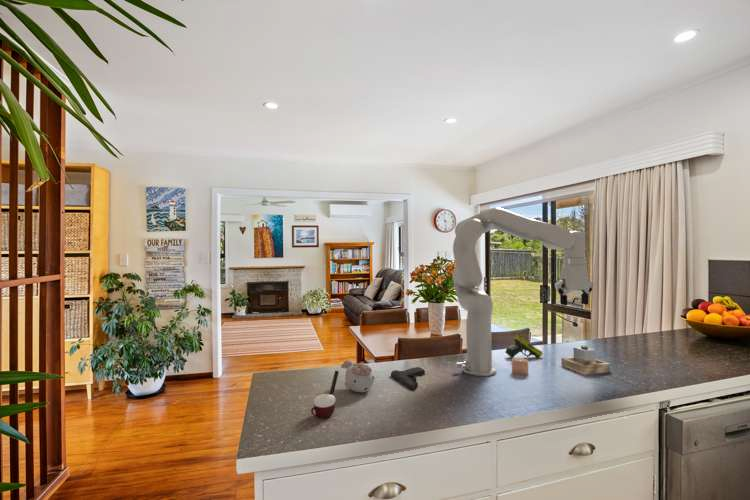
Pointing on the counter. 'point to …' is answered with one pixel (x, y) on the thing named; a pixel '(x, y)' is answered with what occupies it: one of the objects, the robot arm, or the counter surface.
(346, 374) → the toy
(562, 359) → the wooden tray
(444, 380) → the counter surface
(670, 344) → the counter surface
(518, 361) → the tan square block
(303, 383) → the counter surface
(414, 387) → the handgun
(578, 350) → the housing
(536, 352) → the toy gun
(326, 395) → the cocoa
